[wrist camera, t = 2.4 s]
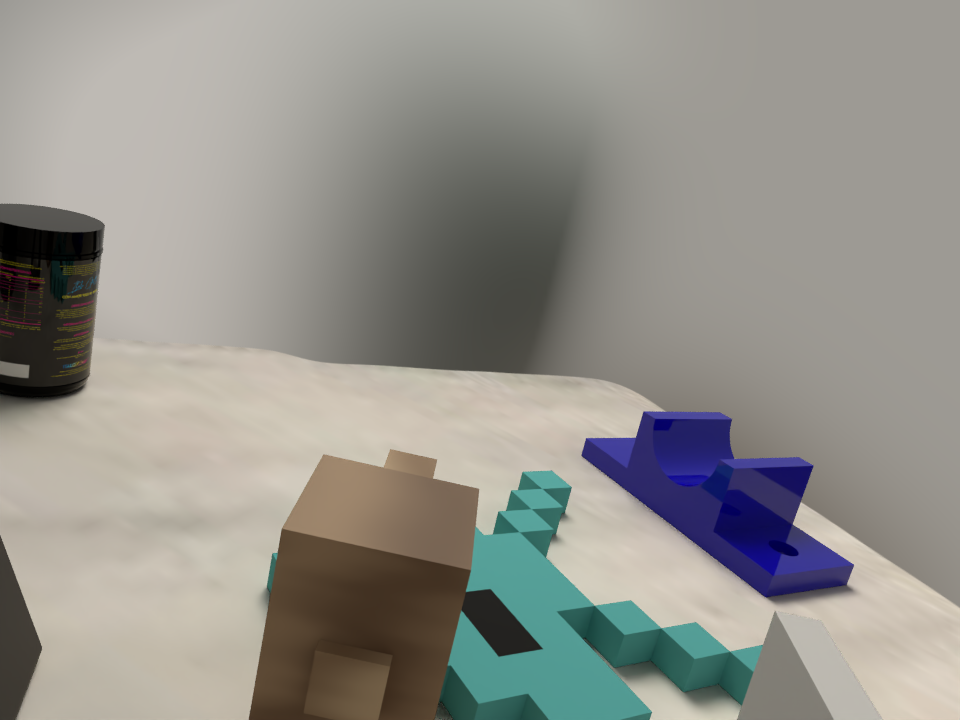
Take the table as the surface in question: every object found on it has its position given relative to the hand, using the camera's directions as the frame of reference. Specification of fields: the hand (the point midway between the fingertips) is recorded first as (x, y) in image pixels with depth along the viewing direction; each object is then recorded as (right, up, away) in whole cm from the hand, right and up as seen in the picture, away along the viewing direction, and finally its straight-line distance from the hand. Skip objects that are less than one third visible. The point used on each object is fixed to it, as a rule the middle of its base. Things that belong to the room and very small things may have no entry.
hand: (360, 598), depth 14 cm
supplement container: (-26, +2, +40) cm, 48 cm away
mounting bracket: (+17, -7, +44) cm, 47 cm away
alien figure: (+2, -9, +28) cm, 29 cm away
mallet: (-3, -10, +18) cm, 20 cm away
